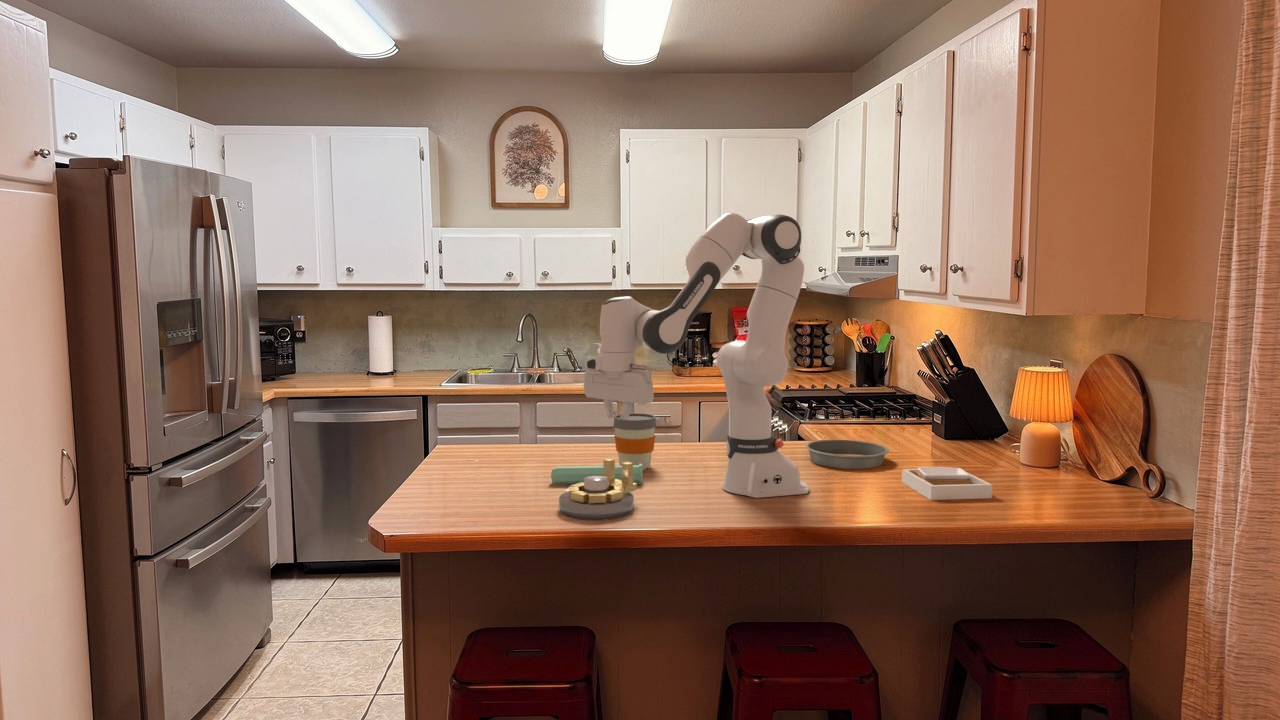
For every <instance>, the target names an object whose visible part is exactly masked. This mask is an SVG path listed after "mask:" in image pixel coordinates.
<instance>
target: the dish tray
mask: <svg viewBox="0 0 1280 720" xmlns="http://www.w3.org/2000/svg"><path fill="white" fill-rule="evenodd" d="M915 471H918V468H909V469H908V468H906V469H901V483H903V484H904V485H906V486H907V487H909V488H910V489H912V490H914V491H916V492H917V493H919V494H920V495H922V496H924V497H926V498H927V499H929V500H930V501H937V500H938V501H939V500H942V501H943V500H972V499H973V500H975V499H977V500H978V499H992V498H993V484H992V483H989V482H988V481H986V480H984V479H982V478H979V477H977V476H975V475H974V474H972V473H970V472H967V471H965V472H966V473H968V474H969V478H970V479H971V480H972V481H973V482H972V484H960V485H932V484H931V483H929V482H927V481H925V480H923V479H922V478H920V477H918V476H916V474H915Z"/></svg>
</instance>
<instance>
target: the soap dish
mask: <svg viewBox="0 0 1280 720" xmlns="http://www.w3.org/2000/svg"><path fill="white" fill-rule="evenodd" d="M917 469H918V471H915V474H916V476H918V477H920V478H922V479H923V480H925V481H927V482H929V483H931V484H932V485H960V484H972V482H973V481H972V480H971V479H970V478H969V474H970V473H969V472H967V471H965V470H964V469H962V468H961V467H946V466H939V467H937V466H933V467H932V466H929V467H927V466H926V467H924V466H923V467H917ZM966 472H967V473H966ZM968 473H969V474H968Z"/></svg>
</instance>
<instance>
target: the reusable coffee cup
mask: <svg viewBox="0 0 1280 720" xmlns="http://www.w3.org/2000/svg"><path fill="white" fill-rule="evenodd" d="M656 421H657V420H656V415H653V414H649V413H648V414H647V413H640V412H639V413H636V412H635V413H634V412H633V413H631V412H630V413H629V419H628V420H622V419H620V414H616V418H613V428H614V432H615V435H614V442H615V451H616V452H617V455H618V463H619V466H622V463H624V462H631V463H633V465H639V464H642V469H645V470H647V469H646V468H648V469H650V468H651V463H652V454H653V452H654V449H655V443H656V442H655V441H656V435H655V430H656V427H657V423H656ZM649 467H650V468H649Z"/></svg>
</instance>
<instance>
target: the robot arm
mask: <svg viewBox="0 0 1280 720" xmlns="http://www.w3.org/2000/svg"><path fill="white" fill-rule="evenodd" d="M801 244H802V230H801V227H800V224H799V223H798V221H797V220H796V219H795V218H793V217H791V216H789V215H785V214H775V215H774V214H769V215H762V216H760V217H757V218H750V219H745V217H743V216H742V215H740V214H739V213H735V212H728V213H724V214H722V215H721V216H720V217H718V218H717V220H715V221H714V222H713V223H711V224H710V226H709V227H707V228H706V230H705V231H704V232H703V233H702V234H700V236H699V237H698V238H697V240H696V241H695V242H694V243H693V245H692V246H691V248H690V249H689V251H688V253H687V255H686V256H685V266H686V271H687V272H688V274H689V277H688V280H687V282H686V283H685V284H684V286H683V287H682V289H681V291H680V292H679V293H678V294H677V296H676V297H675V298H674V300H673V301H672V302H671V304H670V305H669V306H668V307H665V308H663V309H661V310H657V309H653V308H651V307H649V306H646V305H644V304H642V303H640V302H638V301H637V300H636V299H634V298H633V297H632V296H629V295H625V296H624V295H623V296H617V297H616V296H615V297H611V298H609V299H607V300H605V301H604V302H603V303H602V305H601V308H600V309H601V310H600V316H599V336H600V341H601V344H600V348H599V355H598V356H596V357H595V356H594V357H591V358H589V359H586V360H585V361H584V363H583V364H584V368H585V369H586V370H585V372H584V373H583V374H584V375H583V393H584V395H585V396H586V397H587V398H589V399H590V398H592V399H598V400H603V405H604V407H605V410H606V411H607V412H606V413H607V418H608V419H614V418H616V415H617V410H615V408H614V406H613V404H614V401H615V402H622V403H623V404H622V406H623V407H624V409H623V410H622V411H621V412H620V413H619V415H620V419H622V420H628V419H629V414H630V413H631V410H632V408H633V406H634V404H637V405H648V404H651V403H652V402H653V400H654V397H655V395H654V386H653V380H652V370H650V368H649V367H648V366H647V365H645V364H644V365H643V364H642V365H641V364H637V347H640V346H641V347H642V348H647V349H649V350H652V351H654V352H657V353H658V354H664V355H666V354H671V353H673V352H676V351H677V350H679V349H680V348H681V347H682V346H683V344H684V343H685V341H686V338H687V335H688V332H689V329H690V327H691V324H692V322H693V320H694V319H695V317H696V316H697V315H698V314H699V312H700V311H701V309H702V307H703V306H704V305H705V303H706V302H707V300H708V299H709V298H710V297H711V295H712V294H713V292H714V290H715V289H716V287H717V285H718V284H719V283H720V281H722V279H723V278H724V277H725V275H726V274H727V273H728V272H729V270H730V269H731V268H732V267H733V266H734V264H735V263H736V262H737V261H738V260H739V258H740V257H741V256H744V257H745V258H747V259H751V260H761V267H762V268H761V269H762V270H761V276H760V277H759V280H758V283H757V284H756V288H755V290H754V293H753V294H752V298H751V301H750V304H749V306H748V309H747V311H746V318H747V321H748V330H747V336H746V340H744V339H743V340H741V339H738V340H734V341H730V342H727V343H725V344H723V345H722V346H721V348H720V349H719V350H718V352H717V356H716V364H717V368H718V369H719V371H720V373H721V376H722V379H723V383H724V387H725V392H726V397H727V404H728V405H727V406H728V435H727V437H726V438H727V439H726V456H727V464H726V471H725V475H724V480H723V484H722V486H721V487H722V489H723V490H724V491H725V492H728V493H731V494H736V495H742V496H748V497H752V498H757V499H761V498H769V497H771V498H772V497H773V498H774V497H782V496H793V495H794V496H795V495H806V494H808V493H809V491H810V489H809V488H810V487H809V485H808V484H807V483H806V482H805V481H803V480H801V477H800V471H799V469H798V466H797V465H796V463H795V462H793V461H792V460H791V459H790V458H789V457H787V455H785V454H783V453H782V452H781V451H779V449H782V448H783V447H784V445H785V444H784V441H783V440H781V439H778V438H776V437H775V436H773V435H772V411H773V410H772V406H771V403H770V401H769V400H768V398H767V395H766V391H765V388H766V387H771V386H775V385H777V384H780V383H781V382H782V381H783V380H784V379H785V377H786V376H787V374H788V369H789V363H788V358H787V356H786V353H785V352H786V350H785V349H786V348H785V346H786V337H787V336H786V335H787V331H788V327H789V324H790V323H789V322H790V320H791V317H792V314H793V312H794V308H795V306H796V303H797V301H798V298H799V295H800V291H801V288H802V284H803V280H804V274H805V265H804V262H803V261H802V260H801V259H800V257H799V254H800V253H801ZM764 387H765V388H764Z"/></svg>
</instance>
